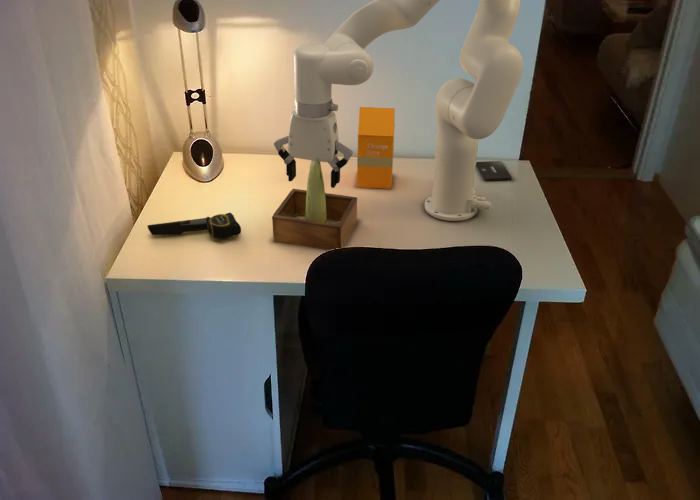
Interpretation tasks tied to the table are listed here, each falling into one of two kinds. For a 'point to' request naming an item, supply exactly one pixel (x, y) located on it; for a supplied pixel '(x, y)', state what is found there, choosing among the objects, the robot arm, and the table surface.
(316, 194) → the bamboo shoot
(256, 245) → the table surface
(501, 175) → the solid state drive
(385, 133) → the orange juice
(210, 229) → the tape measure
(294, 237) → the wooden box
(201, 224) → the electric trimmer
